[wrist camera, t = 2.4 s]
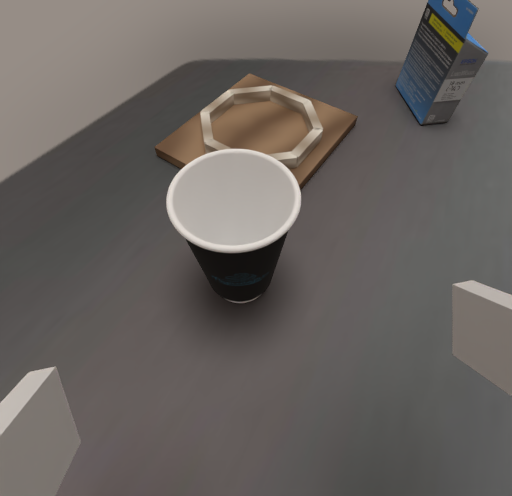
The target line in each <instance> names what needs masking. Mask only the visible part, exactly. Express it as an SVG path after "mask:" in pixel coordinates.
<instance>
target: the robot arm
mask: <svg viewBox="0 0 512 496" xmlns="http://www.w3.org/2000/svg"><path fill="white" fill-rule="evenodd" d="M452 321H453V355H454V356H455V357H457V358H458V359H460V360H461V361H462V362H464V363H465V364H467V365H468V366H470V367H471V368H472V369H474V370H475V371H477V372H478V373H479V374H481V375H482V376H484V377H485V378H486V379H488V380H489V381H491V382H492V383H494V384H495V385H496V386H498V387H499V388H501V389H502V390H503V391H505V392H506V393H508V394H509V395H510V396H512V295H510V294H507V293H505V292H502V291H499V290H497V289H494V288H491V287H489V286H486V285H484V284H481V283H478V282H476V281H473V280H471V281H466V282H461V283H456V284H452ZM80 443H81V441H80V438H79V435H78V432H77V429H76V426H75V423H74V420H73V417H72V414H71V411H70V408H69V405H68V401H67V398H66V395H65V392H64V389H63V386H62V383H61V380H60V377H59V374H58V371H57V368H56V367H51V368H46V369H41V370H37V371H32V372H29V373H28V374H27V375H26V376H25V377H24V378H23V379H22V380H21V381H20V382H19V383H18V384H17V386H16V387H15V388H14V389H13V390H12V391H11V392H10V393H9V394H8V395H7V396H6V397H5V399H4V400H3V401H2V402H1V403H0V496H55V495H56V493H57V491H58V489H59V487H60V485H61V483H62V481H63V478H64V476H65V474H66V472H67V470H68V468H69V466H70V464H71V462H72V460H73V458H74V455H75V453H76V451H77V449H78V447H79V445H80Z"/></svg>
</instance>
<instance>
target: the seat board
mask: <svg viewBox="0 0 512 496" xmlns="http://www.w3.org/2000/svg"><path fill="white" fill-rule="evenodd" d="M357 117H358V116H355V115H353V114H350V113H348V112H345V111H343V110H340V109H338V108H335V107H333V106H330V105H328V104H325V103H323V102H320V101H318V100H315V99H313V98H310V97H307V96H305V95H302V94H300V93H297V92H295V91H292V90H290V89H287V88H285V87H282V86H280V85H277V84H275V83H272V82H270V81H267V80H265V79H262V78H259V77H257V76H254V75H252V74H248V75H247V76H246V77H244V78H243V79H242V80H240V81H239V82H238V83H237V84H235V85H234V86H233V87H231V88H230V89H229V90H227V91H226V92H225V93H224V94H222V95H221V96H220V97H218V98H217V99H216V100H215V101H213V102H212V103H211V104H209V105H208V106H207V107H206V108H204V109H203V110H202V111H200V112H199V113H198V114H197V115H195V116H194V117H193V118H191V119H190V120H189V121H188V122H186V123H185V124H184V125H182V126H181V127H180V128H178V129H177V130H176V131H175V132H173V133H172V134H171V135H169V136H168V137H167V138H166V139H164V140H163V141H162V142H160V143H159V144H158V145H157V146H155V150H156V153H157V156H159V157H161V158H163V159H164V160H166V161H168V162H170V163H172V164H173V165H175V166H177V167H179V168H181V169H182V168H183V167H184V166H186V165H187V164H188V163H190V162H191V161H193V160H195V159H196V158H198V157H200V156H202V155H205V154H208V153H211V152H214V151H218V150H224V149H247V150H253V151H257V152H261V153H264V154H266V155H269V156H271V157H273V158H275V159H276V160H278V161H280V162H281V163H282V164H284V165H285V166H286V167H287V168H288V169H289V170H290V171H291V172H292V174H293V175H294V177H295V178H296V180H297V182H298V185H299V188H300V190H301V189H302V188H303V186H304V185H305V184H306V183H307V182H308V180H309V179H310V178H311V177H312V176H313V174H314V173H315V172H316V171H317V170H318V168H319V167H320V166H321V165H322V164H323V162H324V161H325V160H326V159H327V158H328V157H329V155H330V154H331V153H332V152H333V151H334V149H335V148H336V147H337V146H338V145H339V143H340V142H341V141H342V140H343V139H344V137H345V136H346V135H347V134H348V133H349V131H350V130H351V129H352V128H353V127H354V125H355V123H356V120H357Z"/></svg>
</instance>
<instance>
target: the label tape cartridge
mask: <svg viewBox="0 0 512 496" xmlns="http://www.w3.org/2000/svg"><path fill="white" fill-rule="evenodd" d="M443 1H444V0H428V3H427V5H426V8H425V11H424V13H423V16H422V18H421V21H420V24H419V26H418V29H417V31H416V34H415V37H414V39H413V42H412V45H411V47H410V50H409V52H408V55H407V57H406V60H405V63H404V65H403V68H402V70H401V73H400V76H399V78H398V81H397V83H396V87H397V89H398V90H399V91H400V93H401V95H402V96H403V98H404V99H405V101H406V102H407V104H408V105H409V107H410V109H411V110H412V112H413V113H414V115H415V116H416V118H417V120H418V121H419V123H420V124H421V125H427V124H435V123H445V122H448V120H449V119H450V117H451V115H452V114H453V112H454V110H455V109H456V107H457V105H458V104H459V102H460V100H461V99H462V97H463V95H464V94H465V92H466V90H467V89H468V87H469V85H470V84H471V82H472V80H473V79H474V77H475V75H476V73H477V72H478V70H479V68H480V67H481V65H482V64H483V62H484V60H485V58H486V57H487V55H488V52H487V51H486V50H485V49H484V48H483V47H482V46H481V45H480V44H479V43H478V42H477V41H476V40H475V39H474V38H473V37H472V36H471V35H470V34H469V33H468V31H469V29H470V27H471V25H472V22H473V20H474V18H475V16H476V14H477V12H478V9H479V8H478V7H476V6H475V5H474V4H472V3H471V2H470V1H469V0H453V5H454V6H455V8H456V9H457V13H456V15H453V14H452V13H451V12H450V11H449V10H448V9H447V8H446V7H444V5H443ZM448 1H451V0H448Z"/></svg>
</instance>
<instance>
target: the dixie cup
mask: <svg viewBox="0 0 512 496" xmlns="http://www.w3.org/2000/svg"><path fill="white" fill-rule="evenodd" d="M166 206H167V212H168V216H169V218H170V221H171V222H172V224H173V226H174V227H175V228H176V230H177V231H178V232H179V233H180V234H181V235H182V236H183V237H184V238H185V239H186V241H187V242H188V244H189V246H190V248H191V250H192V252H193V253H194V255H195V257H196V259H197V261H198V262H199V264H200V266H201V268H202V270H203V272H204V273H205V275H206V277H207V279H208V281H209V283H210V284H211V286H212V288H213V289H214V291H215V292H216V293H217V294H218V295H220V296H221V297H223V298H224V299H226V300H228V301H230V302H234V303H246V302H250V301H253V300H254V299H256V298H258V297H259V296H260V295H261V294H262V293H263V292H264V291H265V290H266V289H267V287H268V286H269V284H270V282H271V279H272V276H273V273H274V270H275V267H276V264H277V261H278V259H279V256H280V253H281V250H282V247H283V244H284V241H285V238H286V236H287V233H288V230H289V229H290V228H291V226H292V225H293V223H294V222H295V220H296V218H297V216H298V214H299V211H300V207H301V192H300V188H299V185H298V182H297V180H296V178H295V177H294V175H293V174H292V172H291V171H290V170H289V169H288V168H287V167H286V166H285V165H284V164H282V163H281V162H280V161H278V160H276V159H275V158H273V157H271V156H269V155H266V154H264V153H261V152H257V151H253V150H247V149H224V150H218V151H214V152H211V153H208V154H205V155H202V156H200V157H198V158H196V159H195V160H193V161H191V162H190V163H188V164H187V165H186V166H184V167H183V168H182V169H181V170H180V171H179V172H178V173H177V175H176V176H175V177H174V179H173V180H172V182H171V184H170V187H169V189H168V193H167V200H166Z"/></svg>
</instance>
